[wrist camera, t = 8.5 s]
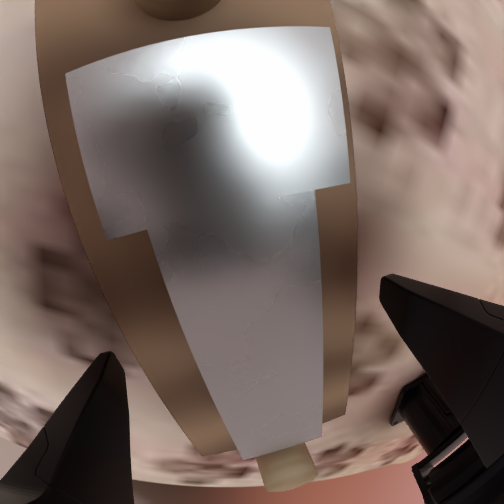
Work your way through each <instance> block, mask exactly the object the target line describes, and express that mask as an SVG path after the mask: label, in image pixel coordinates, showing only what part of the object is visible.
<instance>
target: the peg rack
mask: <svg viewBox="0 0 504 504" xmlns="http://www.w3.org/2000/svg"><path fill="white" fill-rule="evenodd" d="M285 26H311V27H330V30H331V35H332V40H333V45H334V50H335V56H336V62H337V68H338V74H339V80H340V87H341V94H342V101H343V109H344V117H345V126H346V136H347V146H348V158H349V171H350V183H347V184H342V185H337V186H331V187H326V188H321V189H316V190H315V197H316V208H317V220H318V233H319V248H320V264H321V284H322V310H323V415H322V423H325V422H327V421H330V420H332V419H335V418H337V417H340V416H342V415H345V412H346V405H347V398H348V391H349V382H350V374H351V364H352V354H353V343H354V330H355V314H356V294H357V199H356V179H355V163H354V150H353V139H352V129H351V120H350V111H349V103H348V95H347V88H346V81H345V75H344V69H343V63H342V57H341V51H340V46H339V41H338V36H337V31H336V26H335V21H334V17H333V12H332V8H331V4H330V0H35V36H36V51H37V62H38V72H39V80H40V87H41V94H42V100H43V106H44V112H45V117H46V122H47V127H48V132H49V136H50V141H51V145H52V149H53V154H54V158H55V161H56V165H57V169H58V173H59V176H60V180H61V183H62V187H63V190H64V193H65V196H66V200H67V203H68V206H69V209H70V212H71V215H72V218H73V221H74V223H75V226H76V229H77V232H78V235H79V237H80V240H81V243H82V245H83V248H84V250H85V253H86V255H87V258H88V260H89V263H90V265H91V268H92V270H93V272H94V275H95V277H96V279H97V281H98V284H99V286H100V288H101V290H102V293H103V295H104V297H105V299H106V301H107V303H108V305H109V307H110V309H111V312H112V314H113V316H114V318H115V320H116V322H117V324H118V326H119V327H120V329H121V331H122V333H123V335H124V337H125V339H126V341H127V343H128V344H129V346H130V348H131V350H132V352H133V353H134V355H135V357H136V359H137V360H138V362H139V364H140V366H141V367H142V369H143V371H144V372H145V374H146V376H147V377H148V379H149V381H150V382H151V384H152V386H153V387H154V389H155V390H156V392H157V393H158V395H159V397H160V398H161V400H162V401H163V403H164V404H165V406H166V407H167V409H168V410H169V412H170V413H171V415H172V416H173V418H174V419H175V420H176V422H177V423H178V425H179V426H180V428H181V429H182V430H183V432H184V433H185V434H186V436H187V437H188V439H189V440H190V441H191V443H192V444H193V445H194V447H195V448H196V449H197V450H198V452H199V453H200V454H201V456H207V455H212V454H217V453H222V452H227V451H231V450H236V449H237V447H236V445H235V444H234V442H233V440H232V438H231V436H230V434H229V432H228V430H227V428H226V426H225V424H224V422H223V420H222V418H221V416H220V414H219V412H218V410H217V407H216V405H215V403H214V401H213V399H212V397H211V395H210V393H209V390H208V388H207V386H206V384H205V382H204V379H203V377H202V375H201V373H200V370H199V368H198V366H197V363H196V361H195V359H194V356H193V354H192V352H191V349H190V347H189V345H188V342H187V340H186V337H185V335H184V332H183V330H182V327H181V325H180V322H179V320H178V317H177V314H176V312H175V309H174V306H173V304H172V301H171V298H170V296H169V293H168V290H167V288H166V285H165V282H164V279H163V276H162V273H161V270H160V268H159V265H158V262H157V259H156V256H155V253H154V250H153V247H152V243H151V240H150V237H149V234H148V231H147V230H143V231H140V232H136V233H132V234H129V235H125V236H122V237H118V238H115V239H111V240H108V241H107V238H106V235H105V232H104V230H103V227H102V224H101V221H100V218H99V215H98V212H97V209H96V205H95V202H94V199H93V196H92V192H91V189H90V186H89V182H88V179H87V175H86V171H85V168H84V164H83V160H82V156H81V152H80V148H79V144H78V140H77V135H76V131H75V126H74V121H73V116H72V111H71V106H70V101H69V95H68V89H67V83H66V76H65V74H66V73H68V72H70V71H73V70H75V69H78V68H80V67H83V66H85V65H88V64H91V63H93V62H96V61H99V60H102V59H105V58H107V57H110V56H114V55H117V54H120V53H123V52H126V51H130V50H133V49H137V48H140V47H144V46H148V45H152V44H156V43H160V42H164V41H169V40H173V39H178V38H183V37H188V36H194V35H200V34H206V33H213V32H220V31H228V30H237V29H248V28H261V27H285ZM256 460H257V463H258V466H259V470H260V473H261V476H262V479H263V483H264V486H265V489H266V490H267V491H269V492H279V491H286V490H290V489H293V488H297V487H299V486H302V485H304V484H306V483H308V482H310V481H311V480H313V479H314V478H315V477H316V476H317V475H318V472H317V470H316V467H315V465H314V463H313V461H312V458H311V456H310V454H309V451H308V449H307V447H306V444H305V442H304V443H301V444H298V445H295V446H292V447H289V448H285V449H282V450H279V451H275V452H272V453H268V454H265V455H261V456H257V457H256Z"/></svg>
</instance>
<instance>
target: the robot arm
mask: <svg viewBox="0 0 504 504" xmlns="http://www.w3.org/2000/svg"><path fill="white" fill-rule="evenodd" d="M379 299H380V302H381V304H382V306H383V308H384V309H385V311H386V313H387V314H388V316H389V318H390V319H391V321H392V323H393V325H394V326H395V328H396V330H397V331H398V333H399V335H400V336H401V338H402V339H403V341H404V342H405V343H406V345H407V346H408V348H409V349H410V350H411V352H412V353H413V354H414V356H415V357H416V359H417V360H418V362H419V363H420V364H421V366H422V367H423V369H424V370H425V372H426V373H427V374H428V375H426V376H424V377H423V378H421V379H419V380H417V381H416V382H414V383H412V384H410V385H408V386H407V387H405V388H404V389H403V390H402V391H401V394H400V396H399V399H398V402H397V405H396V407H395V410H394V413H393V415H392V418H391V420H390V424H391V426H394V425H396V424H398V423H400V422H402V421H405V422H406V424H407V425H408V426H409V428H410V429H411V431H412V432H413V434H414V435H415V437H416V438H417V440H418V441H419V443H420V444H421V446H422V447H423V449H424V450H425V452H426V453H427V455H428V456H427V457H426V458H424V459H423V460H422V461H420V462H419V463H416V464H415V465H413V466H412V472H413V473H414V477H415V479H416V481H417V484H418V486H419V488H420V490H421V493H422V495H423V499H424V503H425V504H504V306H502V305H498V304H495V303H491V302H488V301H484V300H481V299H478V298H474V297H471V296H468V295H464V294H461V293H458V292H454V291H451V290H447V289H444V288H441V287H437V286H434V285H430V284H427V283H423V282H420V281H416V280H413V279H409V278H406V277H402V276H399V275H395V274H389V275H386V276H383V277H382V278H381V283H380V294H379ZM467 437H468V438H469V439H468V440H467V441H466V442H465V443H464V444H463V445H461V446H460V447H459V448H458V449H457V450H456V451H454V452H453V453H452V454H451V455H450V456H448V457H447V458H446V459H445V460H444V461H442V462H441V463H440V464H438V465H437V466H436V467H433V466H434V465H435V464H436V463H437V462H438V461H440V460H441V459H442V458H444V457H445V456H446V455H447V454H449V453H450V452H451V451H452V450H453V449H455V448H456V447H457V446H458V445H459V444H460V443H462V442H463V441H464V440H465V439H466V438H467ZM133 497H134V496H133V487H132V473H131V457H130V427H129V408H128V399H127V390H126V379H125V372H124V369H123V367H122V366H121V364H120V363H119V361H118V359H117V358H116V356H115V354H114V353H113V352H111V351H109V352H103V353H100V354H99V355H98V356H97V358H96V359H95V360H94V361H93V363H92V364H91V365H90V366H89V368H88V369H87V370H86V371H85V373H84V374H83V375H82V377H81V378H80V379H79V380H78V382H77V383H76V384H75V385H74V387H73V388H72V389H71V391H70V392H69V393H68V395H67V396H66V397H65V398H64V400H63V401H62V402H61V404H60V405H59V406H58V408H57V409H56V410H55V412H54V413H53V414H52V416H51V417H50V418H49V420H48V421H47V422H46V424H45V425H44V427H43V428H42V429H41V431H40V432H39V433H38V435H37V436H36V437H35V439H34V440H33V441H32V443H31V444H30V445H29V447H28V448H27V449H26V450H25V452H24V453H23V454H22V455H21V456H20V458H19V459H18V460H17V461H16V462H15V464H14V465H13V466H12V467H11V468H10V470H9V471H8V472H7V473H6V474H5V476H4V477H3V478H2V479H1V480H0V504H134V498H133Z"/></svg>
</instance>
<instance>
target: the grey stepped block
mask: <svg viewBox="0 0 504 504" xmlns="http://www.w3.org/2000/svg"><path fill="white" fill-rule="evenodd" d="M65 76H66V83H67V89H68V95H69V101H70V106H71V111H72V116H73V121H74V126H75V131H76V135H77V140H78V144H79V148H80V152H81V156H82V160H83V164H84V168H85V171H86V175H87V179H88V182H89V186H90V189H91V192H92V196H93V199H94V202H95V205H96V209H97V212H98V215H99V218H100V221H101V224H102V227H103V230H104V232H105V235H106V238H107V241H108V240H111V239H115V238H118V237H122V236H125V235H129V234H132V233H136V232H140V231H143V230H147V231H148V234H149V237H150V240H151V243H152V247H153V250H154V253H155V256H156V259H157V262H158V265H159V268H160V270H161V273H162V276H163V279H164V282H165V285H166V288H167V290H168V293H169V296H170V298H171V301H172V304H173V306H174V309H175V312H176V314H177V317H178V320H179V322H180V325H181V327H182V330H183V332H184V335H185V337H186V340H187V342H188V345H189V347H190V349H191V352H192V354H193V356H194V359H195V361H196V363H197V366H198V368H199V370H200V373H201V375H202V377H203V379H204V382H205V384H206V386H207V388H208V390H209V393H210V395H211V397H212V399H213V401H214V403H215V405H216V407H217V410H218V412H219V414H220V416H221V418H222V420H223V422H224V424H225V426H226V428H227V430H228V432H229V434H230V436H231V438H232V440H233V442H234V444H235V445H236V447H237V449H238V451H239V453H240V455H241V457H242V459H243V460H245V459H249V458H253V457H257V456H261V455H265V454H268V453H272V452H275V451H279V450H282V449H285V448H289V447H292V446H295V445H298V444H301V443H304V442H307V441H310V440H312V439H315V438H318V437H321V436H322V415H323V310H322V284H321V264H320V248H319V233H318V220H317V208H316V197H315V190H316V189H321V188H326V187H331V186H337V185H342V184H347V183H350V171H349V158H348V146H347V136H346V126H345V117H344V109H343V101H342V94H341V87H340V80H339V74H338V68H337V62H336V56H335V50H334V45H333V40H332V35H331V30H330V27H311V26H285V27H261V28H248V29H237V30H228V31H220V32H213V33H206V34H200V35H194V36H188V37H183V38H178V39H173V40H169V41H164V42H160V43H156V44H152V45H148V46H144V47H140V48H137V49H133V50H130V51H126V52H123V53H120V54H117V55H114V56H110V57H107V58H105V59H102V60H99V61H96V62H93V63H91V64H88V65H85V66H83V67H80V68H78V69H75V70H73V71H70V72H68V73H66V74H65Z"/></svg>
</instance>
